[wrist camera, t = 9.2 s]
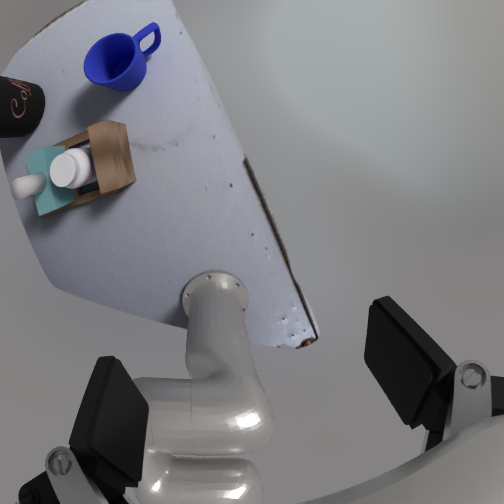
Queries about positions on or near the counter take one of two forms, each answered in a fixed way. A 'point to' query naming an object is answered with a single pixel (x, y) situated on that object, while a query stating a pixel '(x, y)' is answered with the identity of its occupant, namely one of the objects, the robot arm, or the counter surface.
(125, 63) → the mug
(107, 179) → the wooden tray
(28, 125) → the coffee jar
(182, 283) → the counter surface
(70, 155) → the pill bottle
